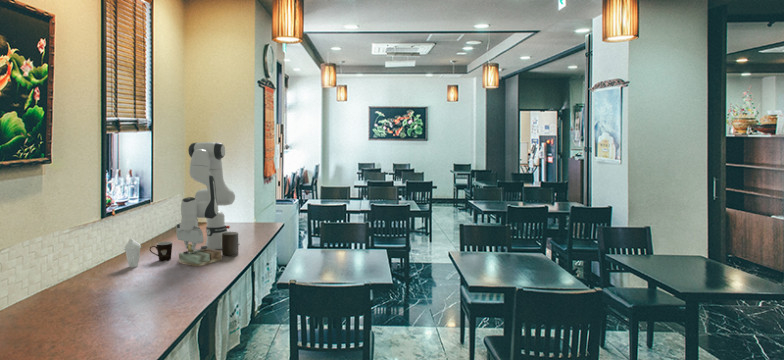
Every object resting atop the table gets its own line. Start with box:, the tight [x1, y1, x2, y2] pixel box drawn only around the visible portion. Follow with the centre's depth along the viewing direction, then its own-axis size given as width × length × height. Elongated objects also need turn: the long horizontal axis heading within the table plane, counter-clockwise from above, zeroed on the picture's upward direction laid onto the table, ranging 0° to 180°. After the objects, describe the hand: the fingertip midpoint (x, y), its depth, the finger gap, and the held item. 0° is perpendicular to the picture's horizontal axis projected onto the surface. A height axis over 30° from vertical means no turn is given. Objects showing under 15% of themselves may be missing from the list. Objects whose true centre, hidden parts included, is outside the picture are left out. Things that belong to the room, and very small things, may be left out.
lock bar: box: [187, 243, 208, 254], centre depth 274 cm, size 12×4×5 cm, turn 150°
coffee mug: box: [149, 241, 173, 262], centre depth 277 cm, size 12×9×10 cm
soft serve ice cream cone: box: [123, 238, 142, 268], centre depth 262 cm, size 8×8×16 cm
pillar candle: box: [221, 231, 239, 258], centre depth 289 cm, size 10×10×15 cm
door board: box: [178, 247, 222, 268], centre depth 274 cm, size 17×16×7 cm
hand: (190, 249), depth 270 cm, fingers open, 3 cm apart
